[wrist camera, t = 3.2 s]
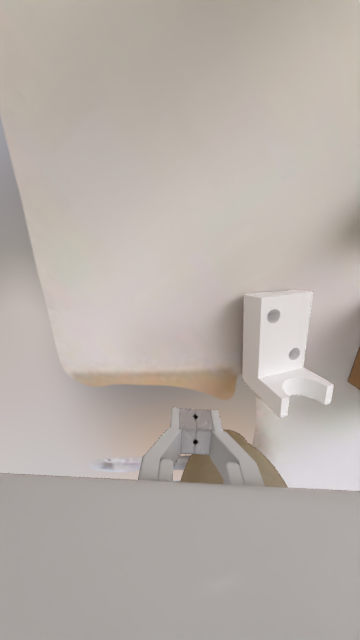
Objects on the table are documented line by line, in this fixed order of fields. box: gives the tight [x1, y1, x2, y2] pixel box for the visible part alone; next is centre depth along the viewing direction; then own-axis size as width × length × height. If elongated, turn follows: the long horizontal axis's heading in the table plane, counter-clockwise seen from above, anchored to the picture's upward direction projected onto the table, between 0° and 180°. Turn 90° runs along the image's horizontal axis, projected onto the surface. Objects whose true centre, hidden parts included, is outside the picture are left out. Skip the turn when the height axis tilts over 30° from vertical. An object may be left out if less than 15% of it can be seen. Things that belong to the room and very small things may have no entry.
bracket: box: [242, 289, 334, 418], centre depth 23 cm, size 13×7×8 cm, turn 4°
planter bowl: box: [180, 430, 287, 487], centre depth 27 cm, size 16×16×11 cm
